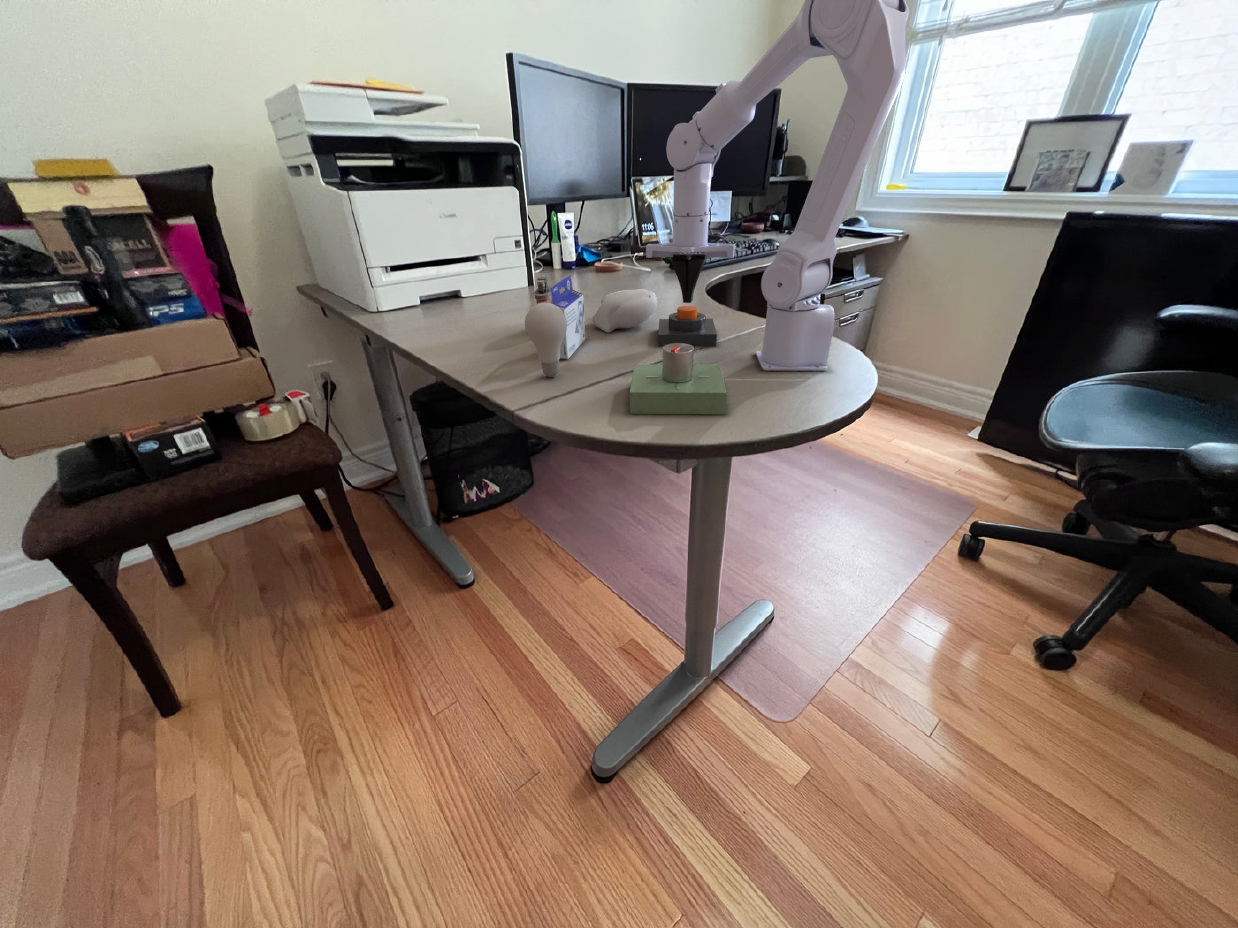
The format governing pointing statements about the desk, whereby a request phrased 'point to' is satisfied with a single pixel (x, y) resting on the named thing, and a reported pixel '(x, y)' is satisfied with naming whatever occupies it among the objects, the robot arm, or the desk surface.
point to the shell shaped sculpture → (625, 309)
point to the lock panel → (677, 392)
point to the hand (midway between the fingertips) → (687, 301)
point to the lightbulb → (547, 334)
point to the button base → (687, 331)
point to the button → (687, 312)
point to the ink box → (570, 315)
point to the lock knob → (677, 362)
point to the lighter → (543, 290)
